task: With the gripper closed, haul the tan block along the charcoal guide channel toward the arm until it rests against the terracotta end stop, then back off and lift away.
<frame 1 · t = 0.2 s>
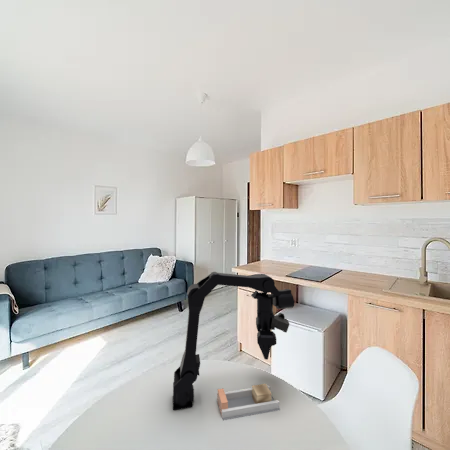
hand: (265, 352, 88), 14 cm above the table, tool pointing down, fingers open, 9 cm apart
tan block: (261, 401, 81), point 1 cm above the table, touching channel
channel: (247, 406, 80), on the table
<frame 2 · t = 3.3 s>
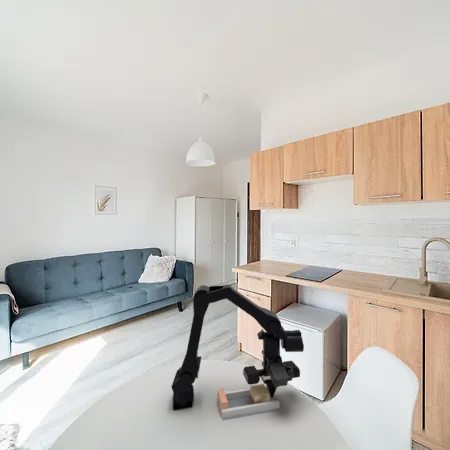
hand: (271, 396, 82), 2 cm above the table, tool pointing down, fingers closed
tan block: (259, 401, 81), point 1 cm above the table, touching channel, gripper
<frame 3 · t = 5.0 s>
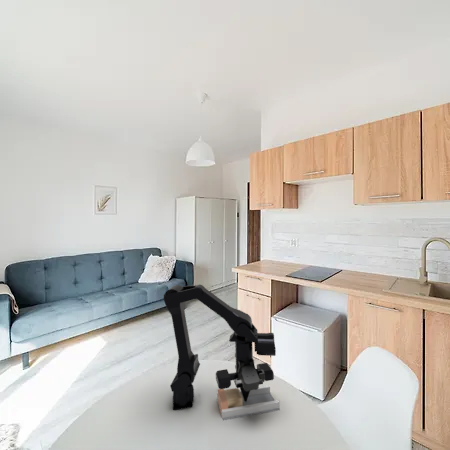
hand: (245, 400, 80), 2 cm above the table, tool pointing down, fingers closed
tan block: (232, 406, 79), point 1 cm above the table, touching channel, gripper
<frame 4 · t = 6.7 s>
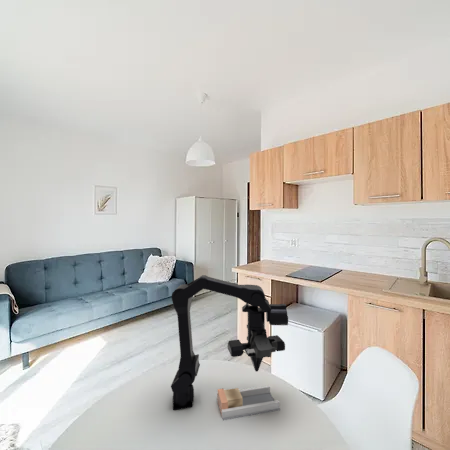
hand: (256, 370, 81), 11 cm above the table, tool pointing down, fingers closed
tan block: (232, 406, 79), point 1 cm above the table, touching channel
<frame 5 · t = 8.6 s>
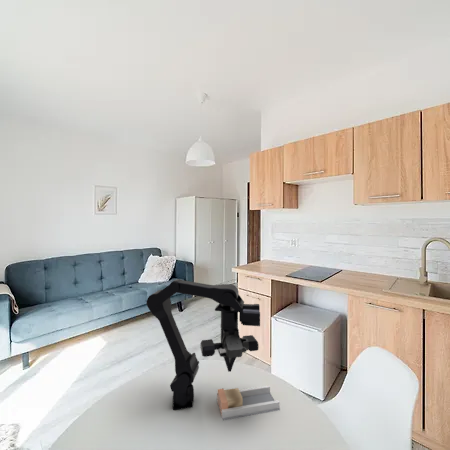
hand: (229, 371, 80), 12 cm above the table, tool pointing down, fingers closed
nothing on the table moved.
at the end: tan block 0.3 cm from the target spot on the channel, point 1.0 cm above the channel's base; tan block tilted 0° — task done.
